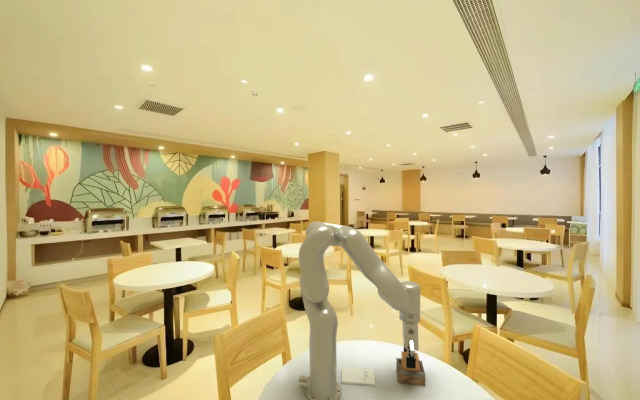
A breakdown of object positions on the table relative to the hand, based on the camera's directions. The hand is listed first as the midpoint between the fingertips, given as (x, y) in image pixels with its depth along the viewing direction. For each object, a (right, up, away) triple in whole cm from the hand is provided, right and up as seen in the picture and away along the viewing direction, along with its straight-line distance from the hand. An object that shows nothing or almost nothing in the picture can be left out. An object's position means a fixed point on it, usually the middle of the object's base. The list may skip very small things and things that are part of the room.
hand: (409, 359), depth 104 cm
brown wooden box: (0, -7, 0) cm, 7 cm away
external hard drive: (-19, -8, 0) cm, 21 cm away
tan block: (0, -4, 0) cm, 4 cm away
